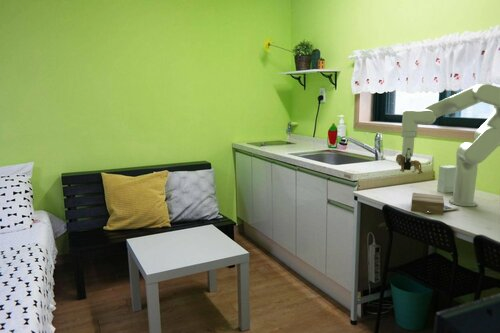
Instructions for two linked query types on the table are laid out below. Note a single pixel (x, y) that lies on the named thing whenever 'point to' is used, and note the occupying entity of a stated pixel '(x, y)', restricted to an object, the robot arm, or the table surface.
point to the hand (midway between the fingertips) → (406, 168)
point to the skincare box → (446, 178)
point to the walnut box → (427, 203)
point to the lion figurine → (415, 163)
